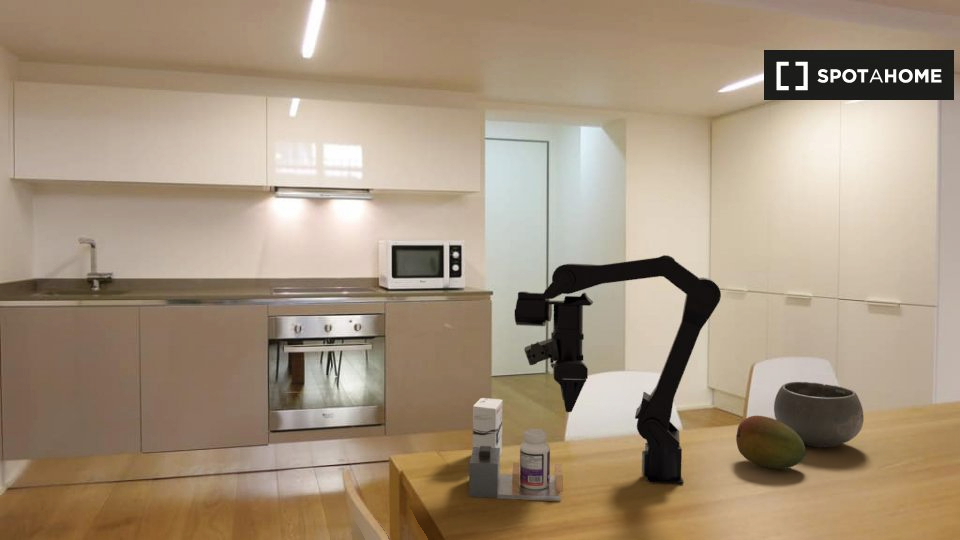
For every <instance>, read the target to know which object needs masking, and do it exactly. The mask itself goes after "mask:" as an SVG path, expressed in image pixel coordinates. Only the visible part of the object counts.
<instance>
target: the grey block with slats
mask: <svg viewBox="0 0 960 540" xmlns="http://www.w3.org/2000/svg"><path fill="white" fill-rule="evenodd" d="M468 464H469V465H468V466H469V467H468V478H469V479H468V497H469V498H470V497H471V498H495V499H497V500H517V499H522V500H523V501H526V500H527V501H548V502H549V501H551V502H552V501H553V502H561V501H562V500H561V499H562V496H561V493H564V491H563V490H564V472H563V467H562V463H554V475H550V483H549V486H548V487H546V488H544V489H538V490H534V489H528V488H525V487H523V486H522V485H521V484H520V462H513V463H512V474H511V473H510V474H506V473H505V474H504V473H500V471H501V455H500V448H491V446H480V447H473V446H472V452H471V455H470V459H469V463H468Z"/></svg>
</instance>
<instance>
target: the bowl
mask: <svg viewBox="0 0 960 540" xmlns="http://www.w3.org/2000/svg"><path fill="white" fill-rule="evenodd" d="M773 402H774V404H773V412H774V419H775V420H777V421H780V422H782V423H784V424H785V425H787V426H788V427H790V428H791V429H792V430H794V431H795V432H796V433H797V434H798V435H799V436H800V438H801V439H802V441H803V443H804V446H805V445H806V446H809V447H815V448H832V447H836V446H837V447H838V446H839V445H842V444H845V443H848V442H849V441H851V440H852V439H854V438H855V437H857V436H858V434H860V432H861V430H862V429H863V425H864V409H863V406H862V402H861V400H860V398H859V396H858V394H857V392H855V390H852V389H850V388H846V387H843V386H838V385H833V384H832V385H831V384H824V383H819V382H807V381H790V382H786V383H784V384H783V385H781V387H780V388H779V389H778V391H777V393H776V396H775V397H774V401H773Z"/></svg>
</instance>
